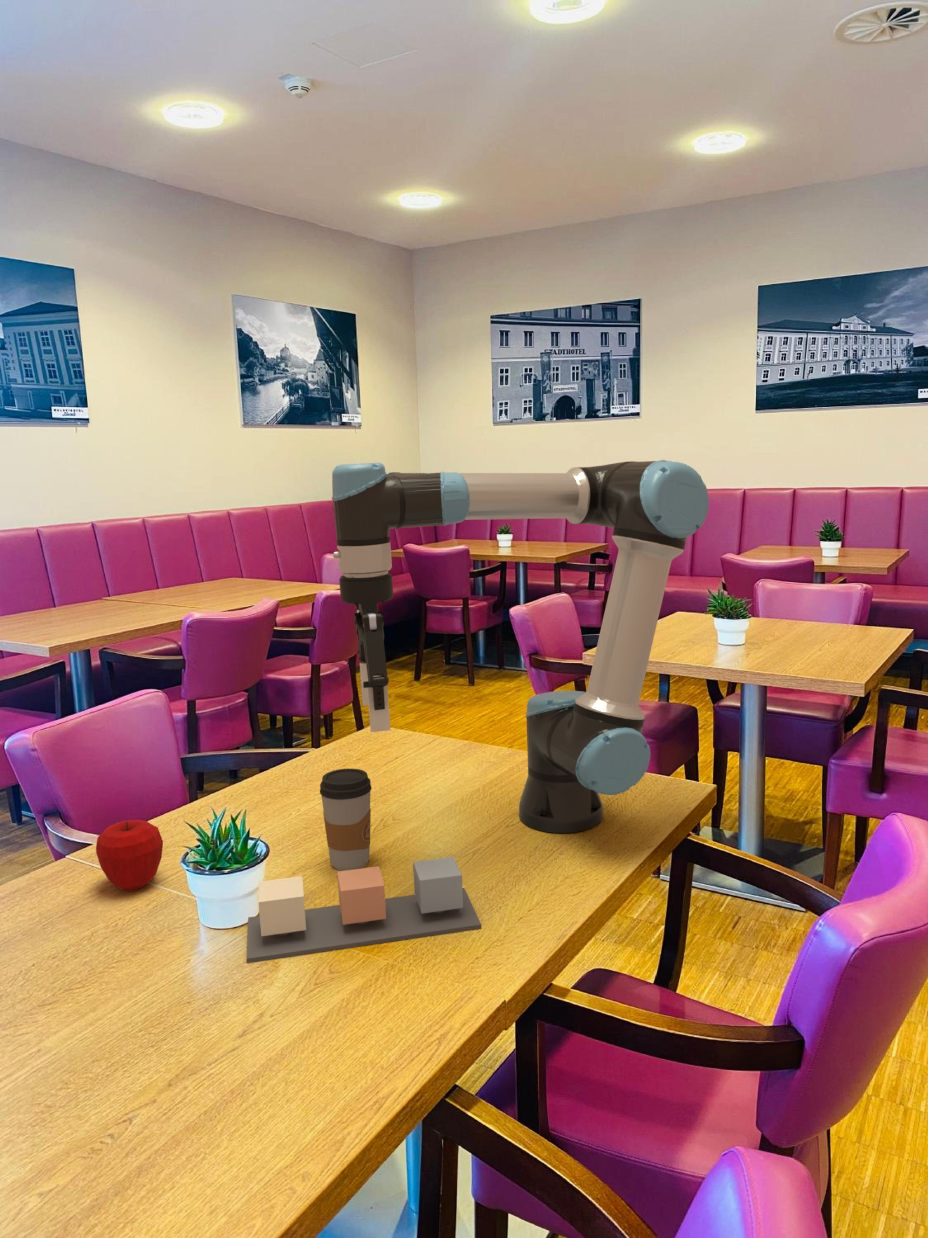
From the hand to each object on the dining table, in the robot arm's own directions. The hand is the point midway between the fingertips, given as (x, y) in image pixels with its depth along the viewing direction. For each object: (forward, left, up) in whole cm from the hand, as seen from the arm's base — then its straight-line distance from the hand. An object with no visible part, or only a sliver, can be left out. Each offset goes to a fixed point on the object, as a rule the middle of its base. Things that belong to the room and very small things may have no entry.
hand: (375, 716), depth 129 cm
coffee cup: (+4, -12, -28) cm, 31 cm away
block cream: (+15, +8, -26) cm, 31 cm away
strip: (+4, +8, -28) cm, 29 cm away
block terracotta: (+4, +8, -26) cm, 27 cm away
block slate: (-7, +8, -26) cm, 28 cm away
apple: (+38, -14, -28) cm, 49 cm away
